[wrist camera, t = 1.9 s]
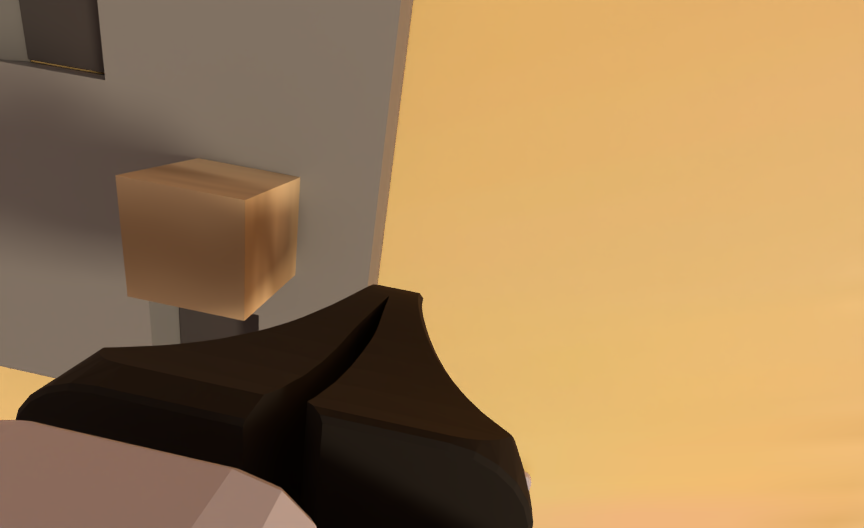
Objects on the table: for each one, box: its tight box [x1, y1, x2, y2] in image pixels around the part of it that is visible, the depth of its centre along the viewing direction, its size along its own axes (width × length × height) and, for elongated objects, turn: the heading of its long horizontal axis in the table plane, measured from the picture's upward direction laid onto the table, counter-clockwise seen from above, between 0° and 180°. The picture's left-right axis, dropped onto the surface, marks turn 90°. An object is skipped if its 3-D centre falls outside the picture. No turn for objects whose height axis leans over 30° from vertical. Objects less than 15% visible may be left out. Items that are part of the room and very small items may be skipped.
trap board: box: [0, 0, 413, 378], centre depth 19 cm, size 20×22×2 cm
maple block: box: [115, 158, 300, 321], centre depth 16 cm, size 4×4×4 cm
